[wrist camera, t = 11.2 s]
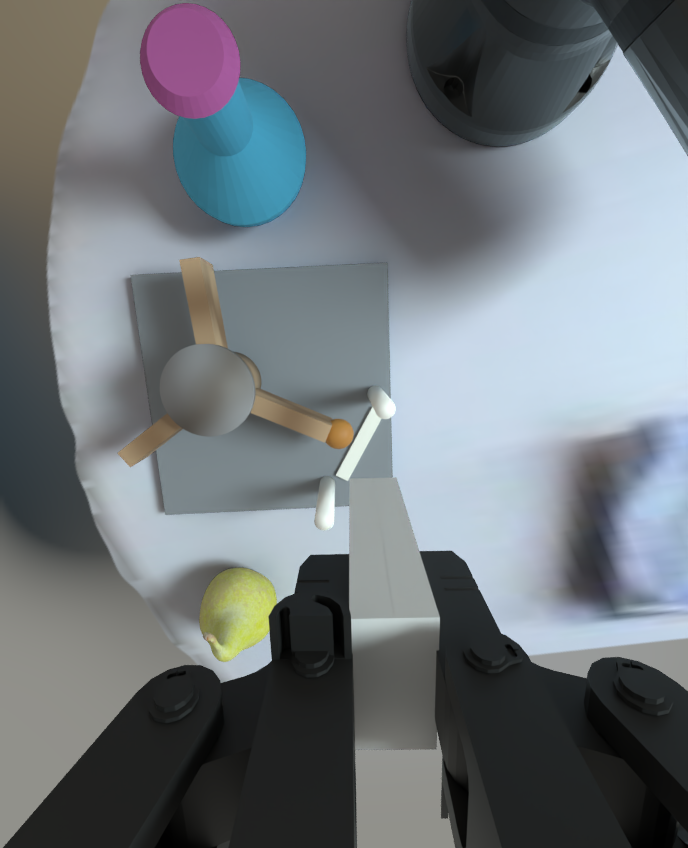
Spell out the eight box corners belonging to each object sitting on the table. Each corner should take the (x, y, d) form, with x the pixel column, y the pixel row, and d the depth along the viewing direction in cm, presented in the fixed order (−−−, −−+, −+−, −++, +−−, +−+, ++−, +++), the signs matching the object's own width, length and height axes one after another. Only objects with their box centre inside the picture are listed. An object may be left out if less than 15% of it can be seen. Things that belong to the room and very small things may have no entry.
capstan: (145, 444, 36) (101, 468, 29) (205, 263, 33) (171, 243, 26) (316, 510, 37) (311, 547, 31) (389, 342, 34) (400, 343, 28)
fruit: (216, 617, 41) (167, 729, 30) (208, 549, 40) (153, 638, 28) (283, 615, 41) (260, 725, 30) (277, 546, 40) (251, 633, 28)
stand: (136, 276, 35) (66, 255, 26) (385, 264, 35) (401, 239, 26) (169, 510, 39) (119, 560, 30) (391, 499, 39) (407, 547, 30)
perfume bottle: (216, 94, 32) (112, -114, 17) (327, 143, 33) (317, -15, 18) (181, 213, 34) (59, 117, 19) (287, 258, 34) (249, 198, 20)
